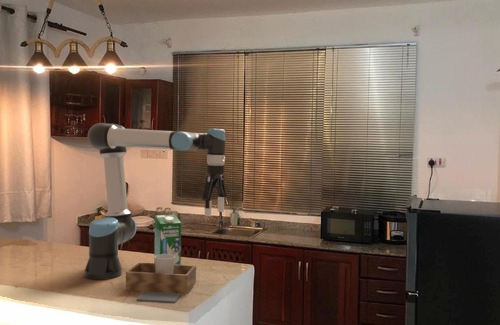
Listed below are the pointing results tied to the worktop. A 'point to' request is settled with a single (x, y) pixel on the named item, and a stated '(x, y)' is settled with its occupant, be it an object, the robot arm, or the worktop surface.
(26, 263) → the worktop surface
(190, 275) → the crate
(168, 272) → the cup
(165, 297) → the slate mat
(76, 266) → the worktop surface
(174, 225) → the milk carton
